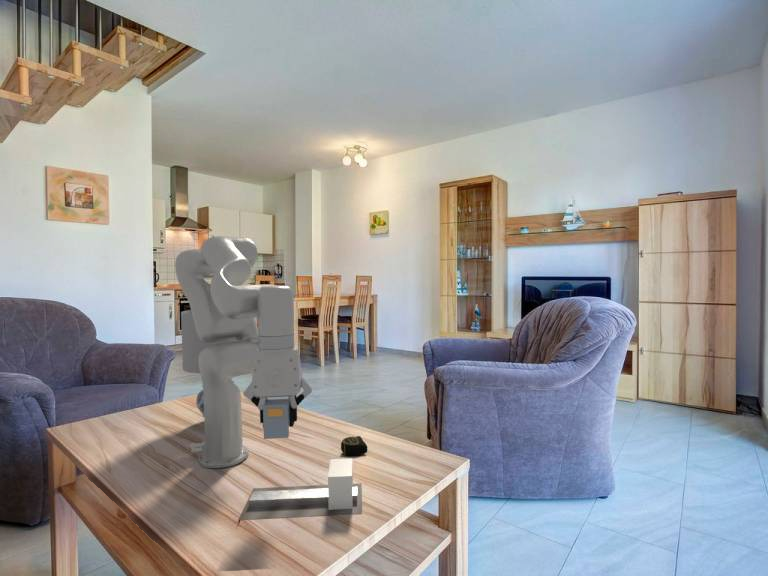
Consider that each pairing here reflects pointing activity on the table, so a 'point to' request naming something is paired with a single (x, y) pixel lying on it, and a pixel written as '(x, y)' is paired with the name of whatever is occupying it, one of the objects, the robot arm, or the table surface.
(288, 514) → the mounting board
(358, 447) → the tape measure
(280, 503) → the rail
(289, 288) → the robot arm
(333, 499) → the mounted module
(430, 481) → the table surface
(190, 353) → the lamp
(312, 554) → the table surface
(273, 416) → the block
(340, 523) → the table surface
